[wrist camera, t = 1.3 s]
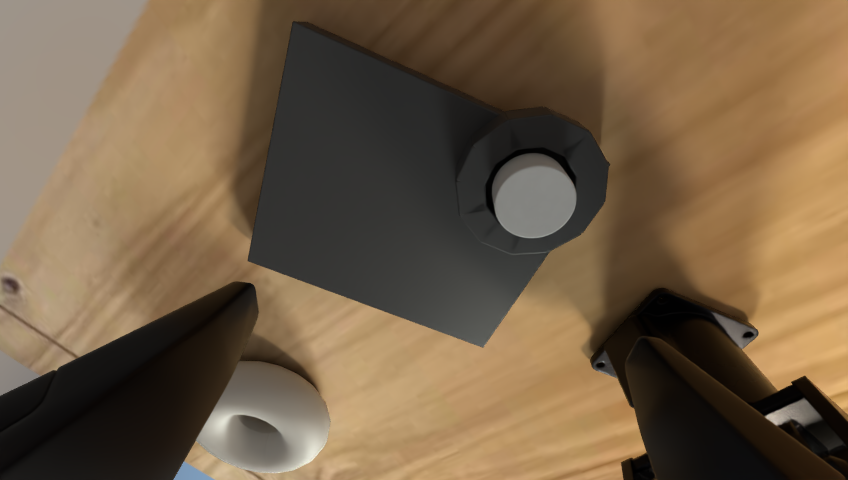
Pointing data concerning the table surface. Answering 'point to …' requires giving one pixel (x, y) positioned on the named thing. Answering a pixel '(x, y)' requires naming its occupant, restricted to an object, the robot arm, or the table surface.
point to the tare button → (533, 195)
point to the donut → (266, 420)
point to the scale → (406, 187)
